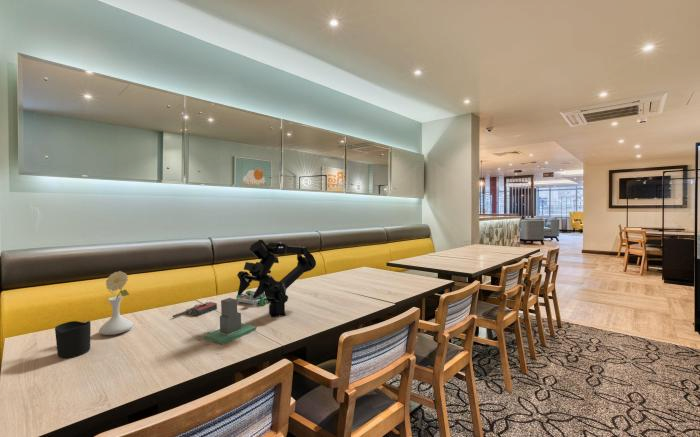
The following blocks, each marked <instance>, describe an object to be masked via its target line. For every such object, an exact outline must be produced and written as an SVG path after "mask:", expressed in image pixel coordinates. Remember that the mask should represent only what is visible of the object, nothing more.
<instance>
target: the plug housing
mask: <svg viewBox="0 0 700 437" xmlns="http://www.w3.org/2000/svg"><path fill="white" fill-rule="evenodd" d="M220 312H221V315H219V329H220V333H223V334H227V335H228V334H231V333H233V332H235V331H238V330H240V329H241V323H242V313H241V312H238V301H237V299H236V298H232V297H228V298H225V299H221V301H220Z"/></svg>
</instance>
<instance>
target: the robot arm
mask: <svg viewBox="0 0 700 437" xmlns="http://www.w3.org/2000/svg"><path fill="white" fill-rule="evenodd" d="M249 251H250V252H251V253H252V254H253V256H254V257H256V258H257V260H259V261H256V262H255V263H254V262H248V261H245V263H244V267H243V270H244V271H243V270H240V271H238V273H237V274H236V277H237V278H238V279H239V286H238V291H237V295H240V294H244V292H246V290H247V289H248V287H250V285H251V284H250V283H252V282H253V281H254V282H258V286H257V288H256V290H255V293H254V296H253V298H254V299H255V298H256V297H258V296H259V295H261V294H262V293H264V294H265V296H264V297H266V298H267V302H269V301H270V302H269V304H268V314H269V315H270V317H271V318H276V317H283V316H286V312H285V311H286V310H285V308H286V307H285V306H286V305H285V304H286V303H288V300H289V296H288V295H287V294H286V293H287V289H288V288H289V287H290V286H291V285H292V284H293V283H295V281H297V280H298V279H299V278H300V277H301V276H302V275H303V274H304V273H307V272H310V271H312V270H313V269H315V268H316V265H317V261H316V259H315V257H314V255H313V254H312V253H311V252H310V251H309V249H308V248H307V247H306V246H295V245H287V244H286V243H283V242H279V241H278V242H277V241H270V242H269V243H268V244H266V243H265V241H264V240H263V239H258V240H257V241H256V242H253V244H251V245H250V247H249ZM286 254H293V255H295V254H296V260H297V263H296V264H297V265H296V266H295V267H294V268H293V269H292V270H290V271H289V272H288V273H287V274H286V275H285V276H284V277H283V278H281V280H279V281H277V280H275V279H274V277H273V276H272V275H269V274H271V273H272V271H271V269H272V267H273V266H274V264H279V262H280V261H279V257H278V256H281V255H286ZM275 255H276V256H275ZM247 271H249V272H247ZM255 300H256V299H255Z"/></svg>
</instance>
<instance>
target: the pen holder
mask: <svg viewBox="0 0 700 437" xmlns="http://www.w3.org/2000/svg"><path fill="white" fill-rule="evenodd" d="M91 328H92V327H91V320H89V321H84V322H83V321H76V320H74V321H73V320H72V321H71V320H70V321H67V322H63V323H60V324H58V325H56V326H55V327H54V333H55V341H56V342H55V343H56V350H57V357H59V359H71V358H75V357H79V356H83V355H85V354H86V353H88V352H89V351H90V350H91V332H92V331H91V330H92V329H91Z"/></svg>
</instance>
